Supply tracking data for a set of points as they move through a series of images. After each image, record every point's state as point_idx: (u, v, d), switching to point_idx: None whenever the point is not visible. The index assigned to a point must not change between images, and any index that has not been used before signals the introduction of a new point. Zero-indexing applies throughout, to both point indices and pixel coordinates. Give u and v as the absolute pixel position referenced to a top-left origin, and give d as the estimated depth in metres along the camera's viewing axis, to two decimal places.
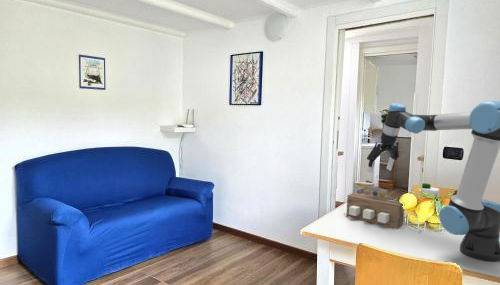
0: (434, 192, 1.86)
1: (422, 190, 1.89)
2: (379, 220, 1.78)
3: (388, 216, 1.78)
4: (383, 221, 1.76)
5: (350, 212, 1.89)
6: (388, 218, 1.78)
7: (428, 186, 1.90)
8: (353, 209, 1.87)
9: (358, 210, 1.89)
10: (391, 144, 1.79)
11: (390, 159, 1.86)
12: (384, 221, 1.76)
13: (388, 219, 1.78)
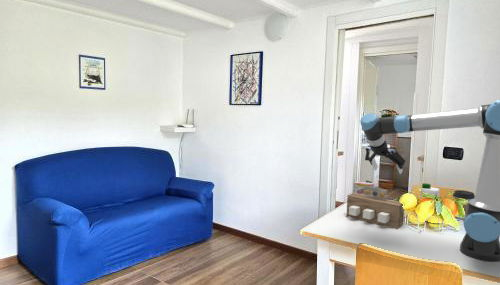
0: (434, 192, 1.86)
1: (422, 190, 1.89)
2: (379, 220, 1.78)
3: (388, 216, 1.78)
4: (383, 221, 1.76)
5: (350, 212, 1.89)
6: (388, 218, 1.78)
7: (428, 186, 1.90)
8: (353, 209, 1.87)
9: (358, 210, 1.89)
10: None
11: (373, 162, 1.77)
12: (384, 221, 1.76)
13: (388, 219, 1.78)
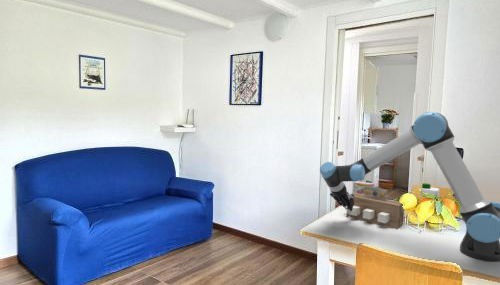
0: (434, 192, 1.86)
1: (422, 190, 1.89)
2: (379, 220, 1.78)
3: (388, 216, 1.78)
4: (383, 221, 1.76)
5: None
6: (388, 218, 1.78)
7: (428, 186, 1.90)
8: (353, 209, 1.88)
9: (359, 210, 1.89)
10: None
11: None
12: (384, 221, 1.76)
13: (388, 219, 1.78)
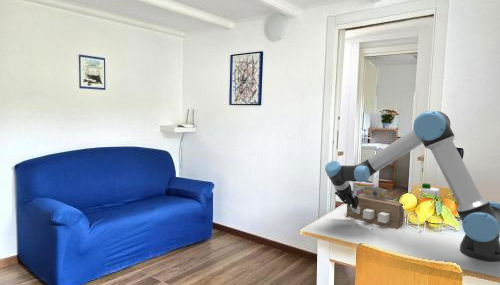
0: (434, 192, 1.86)
1: (422, 190, 1.89)
2: (379, 220, 1.78)
3: (388, 216, 1.78)
4: (383, 221, 1.76)
5: None
6: (388, 218, 1.78)
7: (428, 186, 1.90)
8: (357, 207, 1.91)
9: None
10: None
11: None
12: (384, 221, 1.76)
13: (388, 219, 1.78)
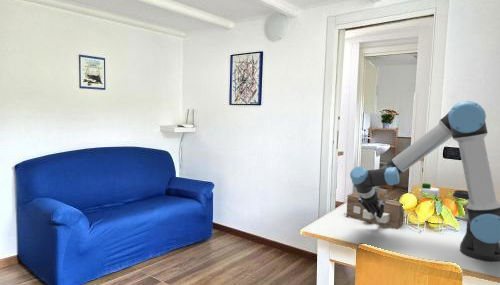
0: (434, 192, 1.86)
1: (422, 190, 1.89)
2: None
3: (388, 216, 1.78)
4: (383, 221, 1.76)
5: (354, 210, 1.92)
6: (388, 218, 1.78)
7: (428, 186, 1.90)
8: (357, 207, 1.91)
9: None
10: None
11: None
12: (384, 221, 1.76)
13: (388, 219, 1.78)
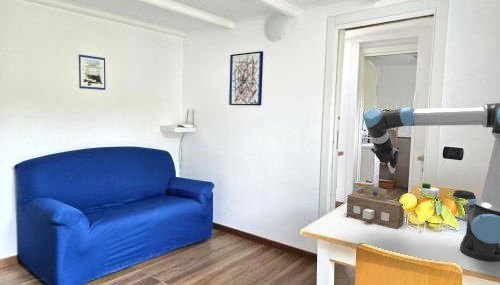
0: (434, 192, 1.86)
1: (422, 190, 1.89)
2: (383, 218, 1.81)
3: None
4: (386, 219, 1.79)
5: (354, 210, 1.92)
6: None
7: (428, 186, 1.90)
8: (357, 207, 1.91)
9: None
10: None
11: None
12: (387, 219, 1.79)
13: None
